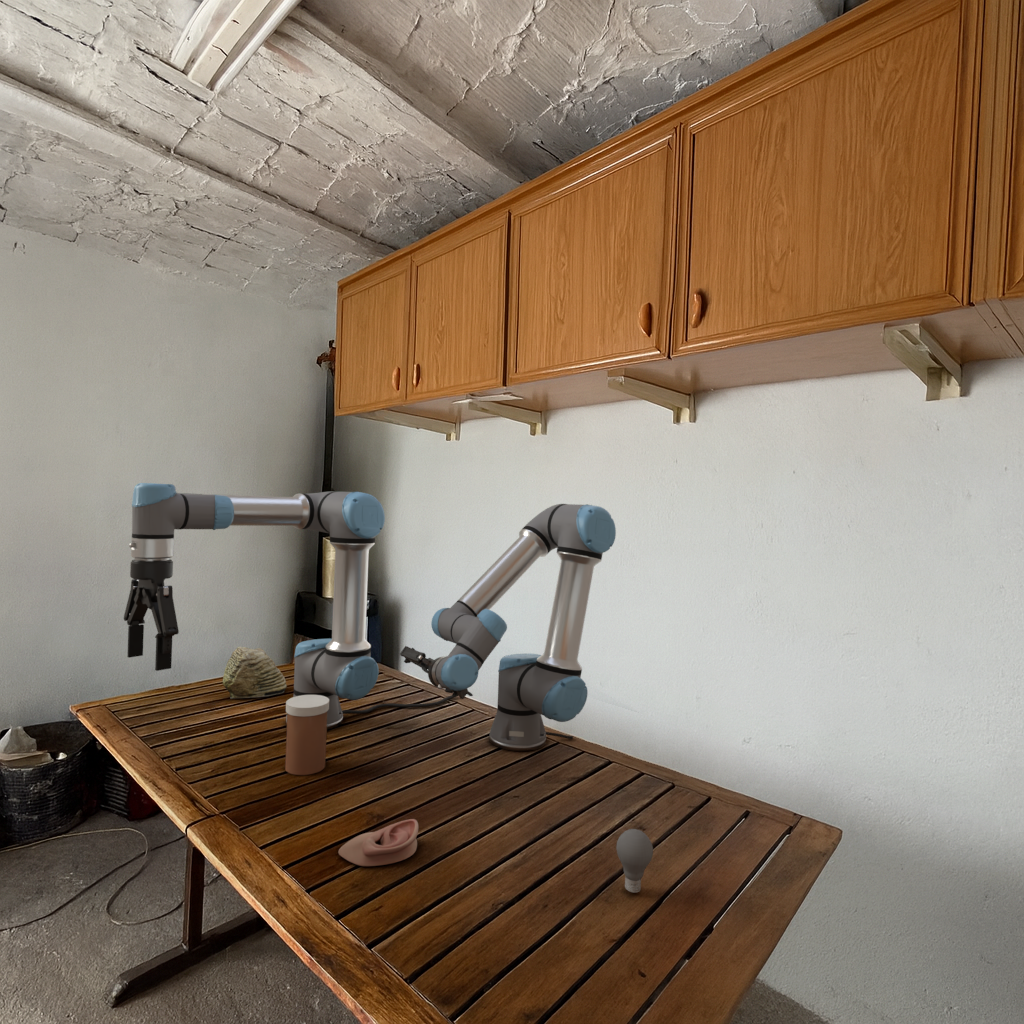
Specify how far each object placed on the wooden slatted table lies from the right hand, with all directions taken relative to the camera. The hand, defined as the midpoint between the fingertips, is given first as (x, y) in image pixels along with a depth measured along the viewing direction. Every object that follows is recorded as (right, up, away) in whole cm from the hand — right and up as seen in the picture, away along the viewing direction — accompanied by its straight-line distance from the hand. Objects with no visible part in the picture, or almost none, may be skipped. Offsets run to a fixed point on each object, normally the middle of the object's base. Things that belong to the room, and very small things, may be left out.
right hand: (428, 672), depth 170 cm
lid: (-25, -1, -22) cm, 33 cm away
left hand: (-52, +12, -41) cm, 67 cm away
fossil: (-58, -14, +28) cm, 66 cm away
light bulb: (+43, -20, -64) cm, 80 cm away
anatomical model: (-2, -18, -55) cm, 58 cm away
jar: (-26, -16, -22) cm, 38 cm away
